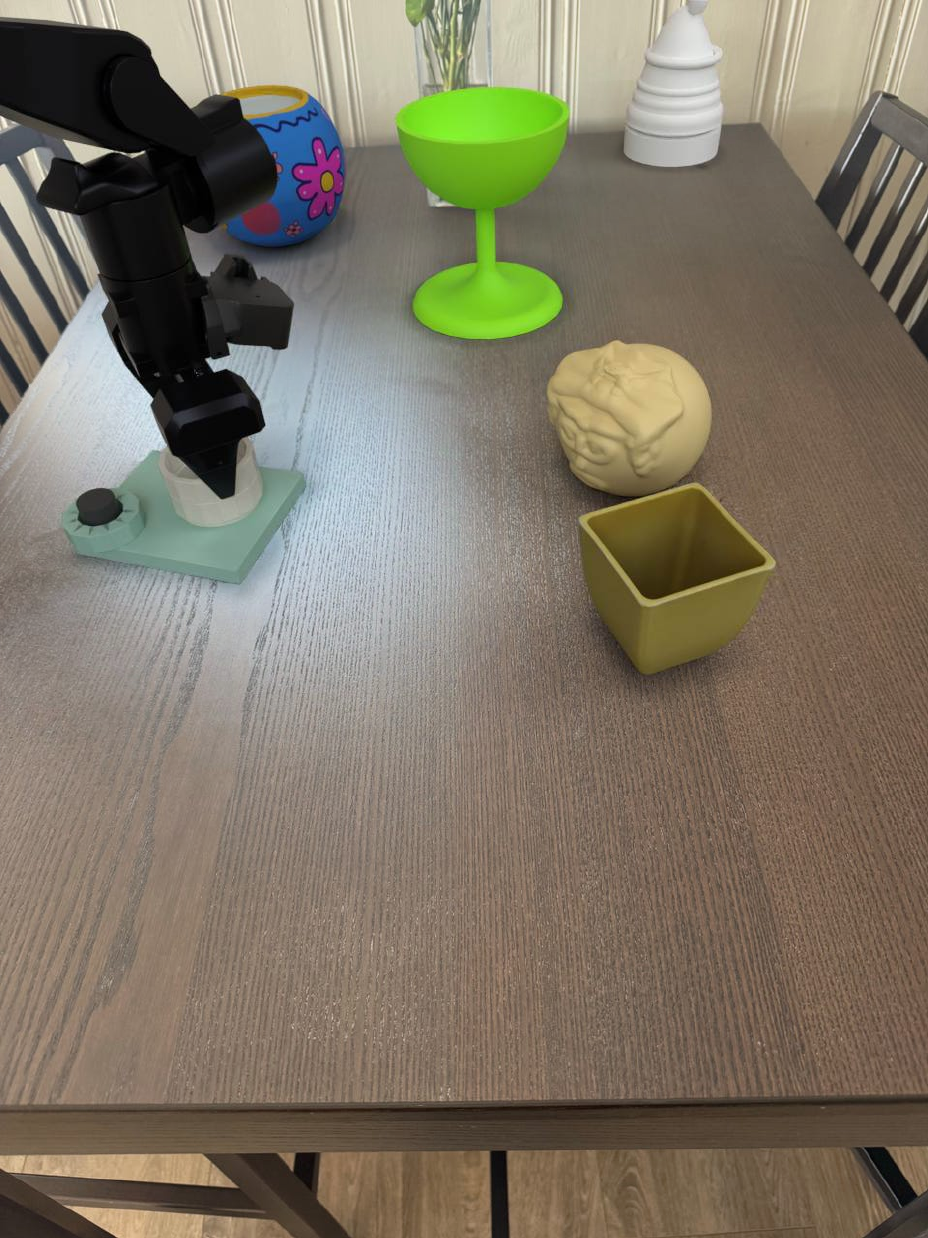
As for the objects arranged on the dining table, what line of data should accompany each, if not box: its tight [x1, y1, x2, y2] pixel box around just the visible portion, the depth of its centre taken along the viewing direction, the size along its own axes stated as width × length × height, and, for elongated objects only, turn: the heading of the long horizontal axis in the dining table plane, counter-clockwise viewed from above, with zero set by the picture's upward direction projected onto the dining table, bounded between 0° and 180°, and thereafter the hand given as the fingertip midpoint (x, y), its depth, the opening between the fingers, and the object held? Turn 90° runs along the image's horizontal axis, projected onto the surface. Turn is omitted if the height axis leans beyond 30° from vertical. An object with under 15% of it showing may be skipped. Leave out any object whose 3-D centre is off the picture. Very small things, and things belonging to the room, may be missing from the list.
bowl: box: [157, 436, 263, 527], centre depth 67 cm, size 7×7×4 cm
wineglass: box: [394, 86, 571, 340], centre depth 86 cm, size 16×16×18 cm
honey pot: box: [623, 0, 725, 168], centre depth 114 cm, size 13×13×18 cm
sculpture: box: [546, 339, 713, 498], centre depth 67 cm, size 12×12×11 cm
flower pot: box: [577, 482, 777, 676], centre depth 55 cm, size 9×9×9 cm
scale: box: [60, 449, 307, 585], centre depth 68 cm, size 15×13×3 cm
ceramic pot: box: [219, 84, 347, 247], centre depth 101 cm, size 18×18×15 cm
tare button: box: [76, 487, 121, 527], centre depth 65 cm, size 3×3×2 cm
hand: (208, 464), depth 66 cm, fingers open, 9 cm apart
